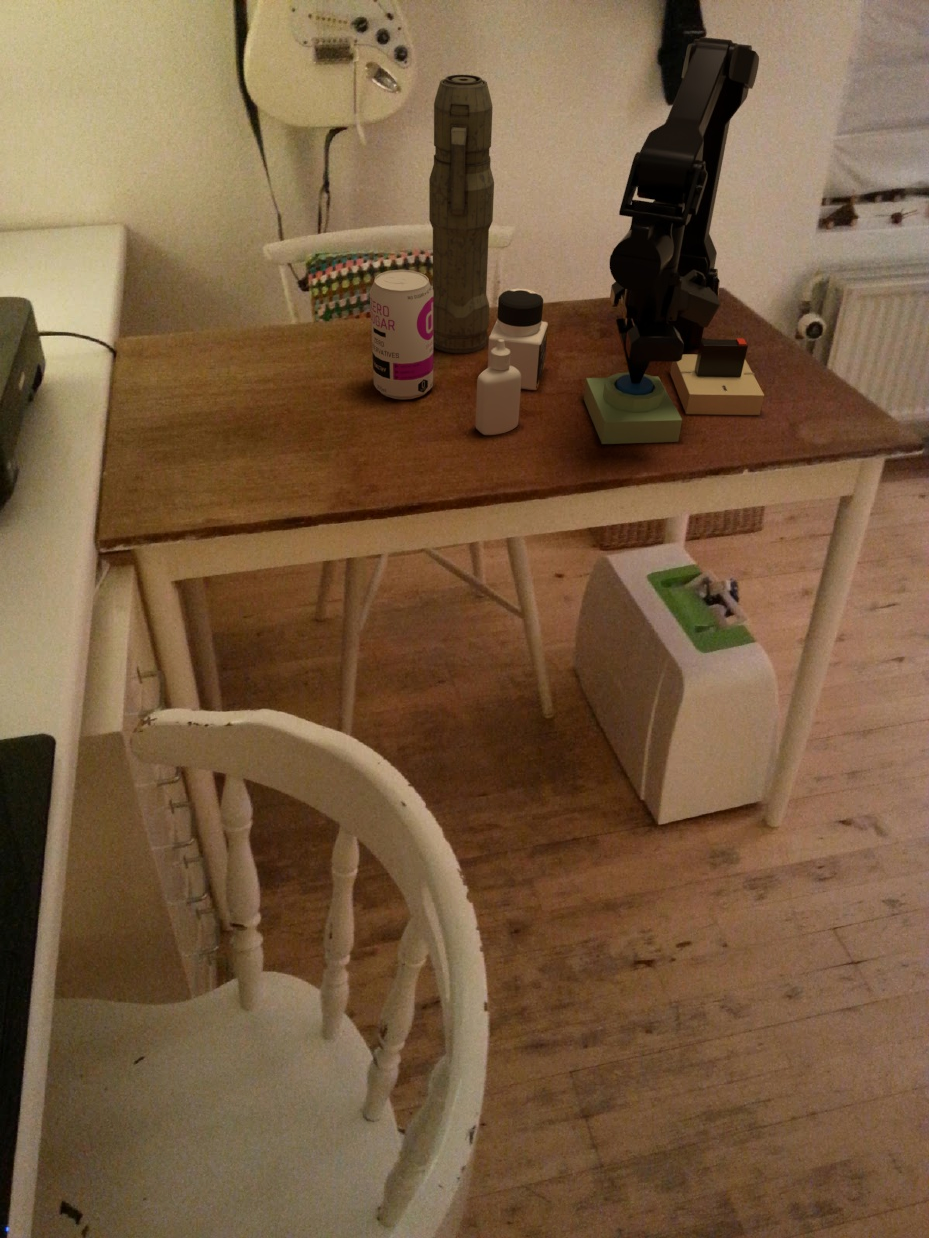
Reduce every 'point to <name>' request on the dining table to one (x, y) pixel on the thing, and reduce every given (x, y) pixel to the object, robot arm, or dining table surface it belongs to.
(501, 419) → the eye dropper bottle
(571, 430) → the dining table surface
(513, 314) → the medicine bottle
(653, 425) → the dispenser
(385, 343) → the supplement can
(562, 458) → the dining table surface
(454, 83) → the thermos
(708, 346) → the dial
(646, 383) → the cylinder
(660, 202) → the robot arm
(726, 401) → the console
